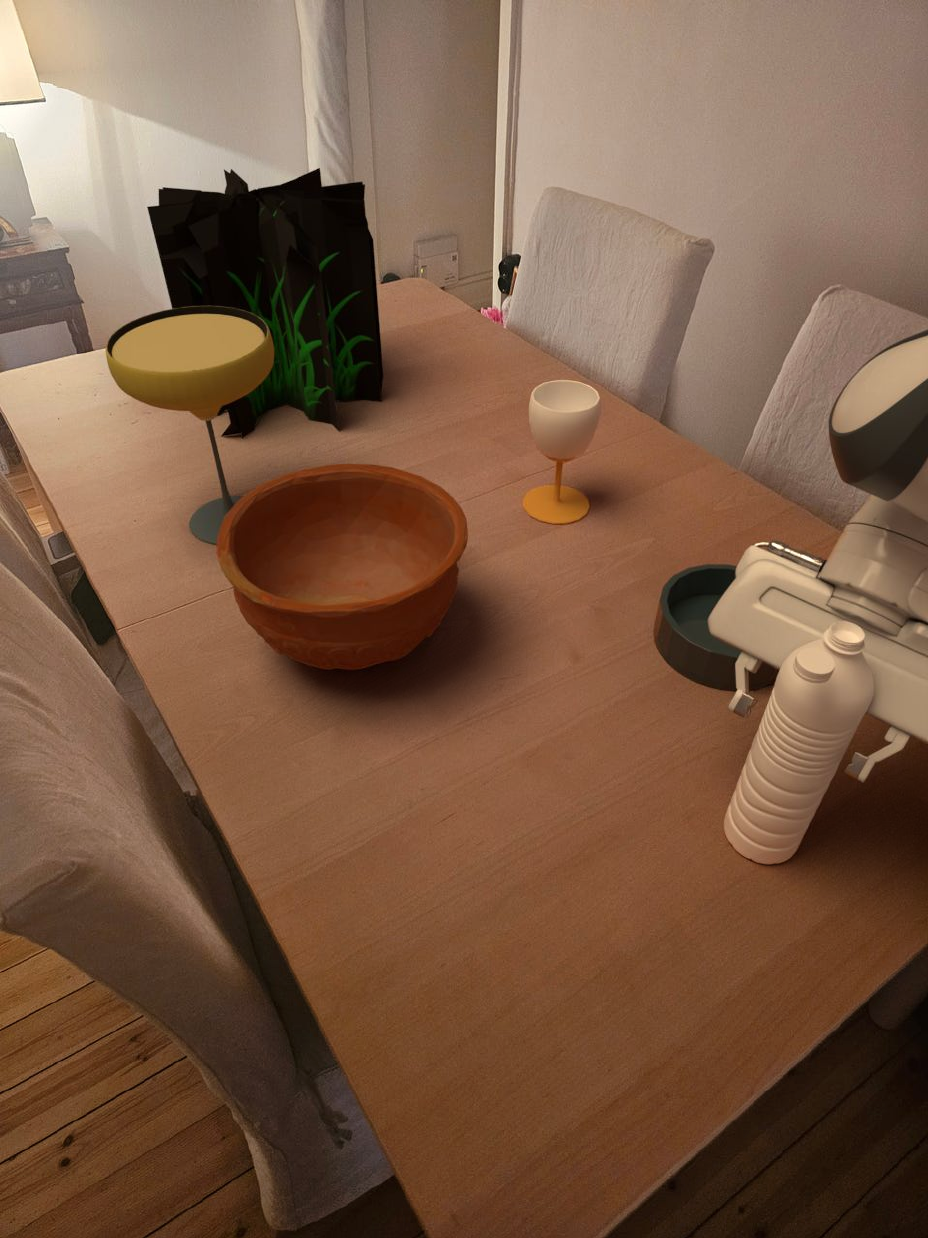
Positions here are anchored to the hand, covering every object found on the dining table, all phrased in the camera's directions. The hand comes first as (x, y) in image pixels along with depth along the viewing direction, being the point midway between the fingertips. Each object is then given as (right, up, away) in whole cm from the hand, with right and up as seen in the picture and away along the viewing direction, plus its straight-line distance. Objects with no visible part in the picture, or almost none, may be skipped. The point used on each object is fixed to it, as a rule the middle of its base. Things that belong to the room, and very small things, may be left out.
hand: (793, 744), depth 63 cm
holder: (+3, +7, +28) cm, 30 cm away
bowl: (-37, +8, +29) cm, 48 cm away
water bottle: (0, -10, +10) cm, 14 cm away
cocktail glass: (-56, +22, +45) cm, 75 cm away
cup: (-13, +25, +48) cm, 56 cm away
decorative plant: (-53, +46, +71) cm, 100 cm away
